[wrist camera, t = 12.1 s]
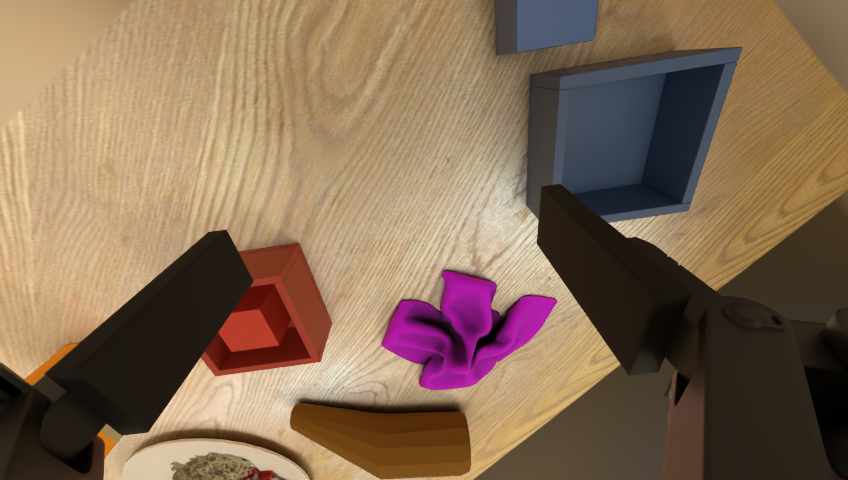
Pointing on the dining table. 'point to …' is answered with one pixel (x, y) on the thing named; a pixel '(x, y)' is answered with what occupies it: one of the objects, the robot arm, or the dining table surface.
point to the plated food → (209, 462)
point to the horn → (390, 440)
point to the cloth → (462, 331)
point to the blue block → (543, 24)
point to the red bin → (301, 303)
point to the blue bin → (627, 130)
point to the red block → (256, 320)
